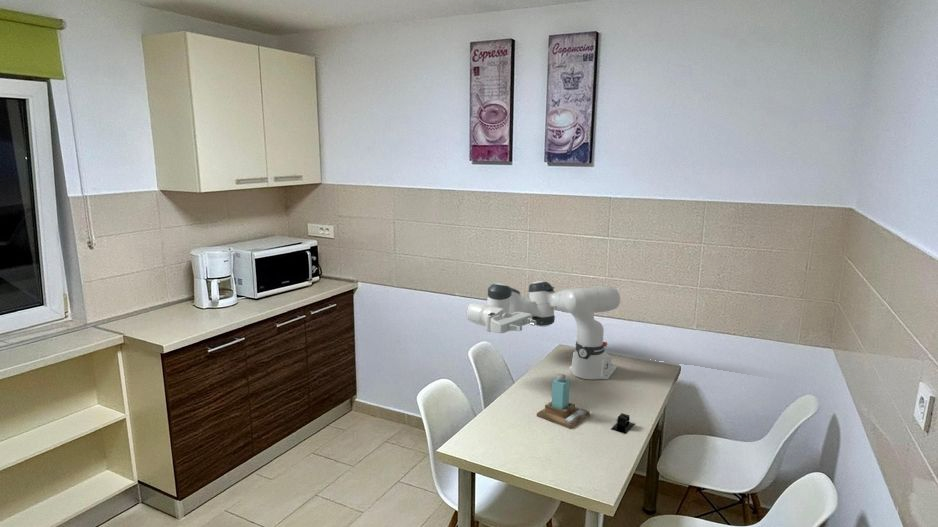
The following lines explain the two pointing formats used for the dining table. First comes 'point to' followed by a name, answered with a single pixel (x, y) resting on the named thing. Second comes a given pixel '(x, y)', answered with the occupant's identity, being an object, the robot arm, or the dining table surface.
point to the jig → (563, 415)
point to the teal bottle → (560, 392)
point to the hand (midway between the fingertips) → (528, 326)
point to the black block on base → (623, 424)
